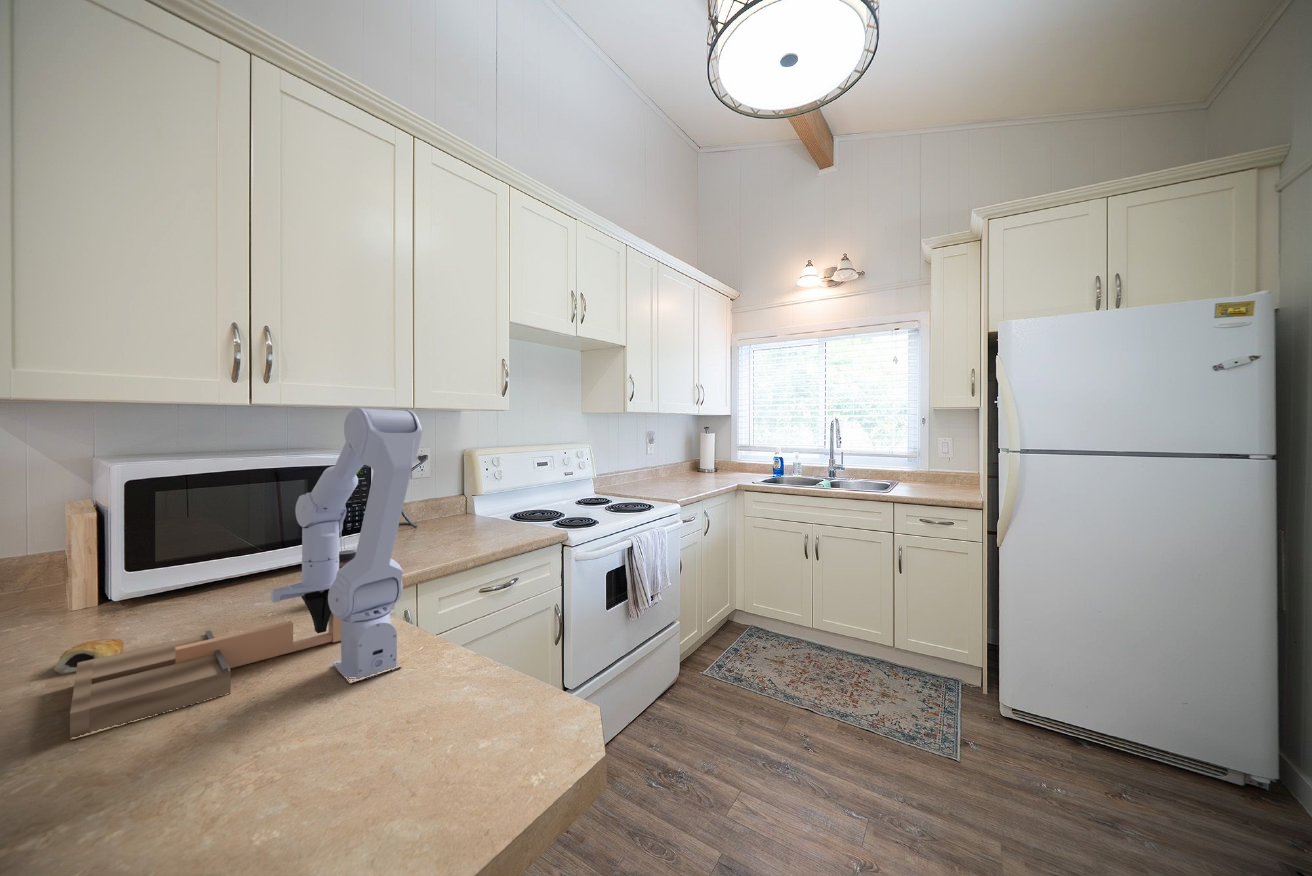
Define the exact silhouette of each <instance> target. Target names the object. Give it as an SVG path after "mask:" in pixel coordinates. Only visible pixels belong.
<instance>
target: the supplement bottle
mask: <svg viewBox="0 0 1312 876" xmlns="http://www.w3.org/2000/svg"><path fill="white" fill-rule="evenodd" d="M356 551H357V550H353V549H349V550H341V551H340V550H339V569H341V568H342V567H343V566H344V565H346V564H347V563H348V562H350V561H351V560H352V559H353V558H354V557H355V555H356Z"/></svg>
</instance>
